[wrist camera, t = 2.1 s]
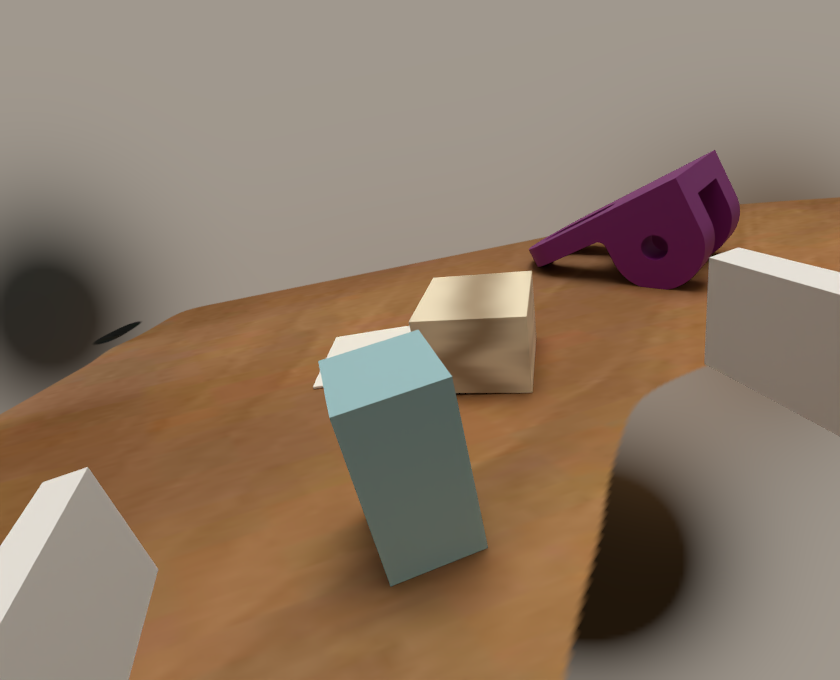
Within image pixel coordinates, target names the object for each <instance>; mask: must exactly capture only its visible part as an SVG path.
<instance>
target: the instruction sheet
mask: <svg viewBox="0 0 840 680" xmlns="http://www.w3.org/2000/svg"><path fill="white" fill-rule="evenodd" d="M409 332H411V331H410V326H404V327H398V328H392V329H385V330H379V331H373V332H367V333H360V334H354V335H348V336H341V337H336V339H335V341H334V343H333V346H332V348H331V350H330V352H329V354H328V356H327V358H330V357H333V356H336V355H339V354H343V353H346V352H349V351H352V350H355V349H358V348H362V347H365V346H368V345H371V344H374V343H377V342H380V341H384V340H387V339H390V338H393V337H396V336H399V335H403V334H406V333H409ZM327 358H326V359H327ZM317 388H324V387H323V382H322V377H321V372H320V373H319V375H318V377H317V379H316V381H315V384H314V386H313V389H317Z"/></svg>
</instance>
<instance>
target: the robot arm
mask: <svg viewBox="0 0 840 680" xmlns="http://www.w3.org/2000/svg"><path fill="white" fill-rule="evenodd" d="M705 365H707V366H709V367H711V368H713V369H715V370H717V371H719V372H720V373H722V374H724V375H726V376H728V377H730V378H732V379H733V380H735V381H737V382H739V383H741V384H743V385H745V386H746V387H748V388H750V389H752V390H754V391H756V392H758V393H760V394H761V395H763V396H765V397H767V398H769V399H771V400H773V401H774V402H776V403H778V404H780V405H782V406H784V407H786V408H788V409H789V410H791V411H793V412H795V413H797V414H799V415H801V416H803V417H804V418H806V419H808V420H810V421H812V422H814V423H816V424H817V425H819V426H821V427H823V428H825V429H827V430H829V431H831V432H832V433H834V434H836V435H838V436H840V272H836V271H832V270H828V269H824V268H820V267H816V266H812V265H807V264H803V263H799V262H795V261H791V260H787V259H783V258H779V257H775V256H771V255H767V254H763V253H759V252H754V251H750V250H746V249H742V248H736V249H733V250H730V251H727V252H724V253H721V254H718V255H715V256H712V257H709V273H708V296H707V319H706V342H705ZM157 572H158V568H157V567H156V565H155V564H154V562H153V561H152V560H151V558H150V557H149V555H148V554H147V552H146V551H145V549H144V548H143V546H142V545H141V544H140V542H139V541H138V539H137V538H136V536H135V535H134V533H133V532H132V530H131V529H130V528H129V526H128V525H127V523H126V522H125V520H124V519H123V517H122V516H121V514H120V513H119V512H118V510H117V509H116V507H115V506H114V504H113V503H112V501H111V500H110V499H109V497H108V496H107V494H106V493H105V491H104V490H103V488H102V487H101V485H100V484H99V483H98V481H97V480H96V478H95V477H94V475H93V474H92V472H91V471H90V469H89V468H88V467H87V468H84V469H81V470H78V471H75V472H72V473H69V474H66V475H63V476H60V477H57V478H54V479H51V480H48V481H45V482H43V483H42V484H41V486H40V487H39V489H38V490H37V492H36V493H35V495H34V496H33V498H32V499H31V501H30V502H29V504H28V505H27V507H26V508H25V510H24V511H23V513H22V514H21V516H20V517H19V519H18V520H17V522H16V523H15V525H14V526H13V528H12V529H11V531H10V532H9V534H8V535H7V537H6V538H5V540H4V541H3V543H2V544H1V546H0V680H129V676H130V673H131V669H132V665H133V661H134V658H135V654H136V650H137V646H138V643H139V639H140V635H141V631H142V628H143V624H144V620H145V617H146V613H147V609H148V605H149V602H150V598H151V594H152V590H153V587H154V583H155V579H156V575H157Z"/></svg>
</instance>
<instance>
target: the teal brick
mask: <svg viewBox="0 0 840 680" xmlns="http://www.w3.org/2000/svg"><path fill="white" fill-rule="evenodd" d="M318 362H319V367H320V372H321V377H322V382H323V387H324V393H325V398H326V403H327V408H328V413H329V418H330V421H331V423H332V426H333V429H334V432H335V434H336V437H337V440H338V443H339V445H340V448H341V451H342V454H343V457H344V459H345V462H346V465H347V468H348V470H349V473H350V476H351V479H352V481H353V484H354V487H355V490H356V492H357V495H358V498H359V501H360V503H361V506H362V509H363V512H364V514H365V517H366V520H367V523H368V526H369V528H370V531H371V534H372V537H373V539H374V542H375V545H376V548H377V550H378V553H379V556H380V559H381V561H382V564H383V567H384V570H385V572H386V575H387V578H388V581H389V583H390V586H393V585H396V584H398V583H401V582H403V581H406V580H408V579H411V578H413V577H416V576H418V575H421V574H423V573H426V572H428V571H431V570H433V569H436V568H438V567H441V566H443V565H446V564H448V563H451V562H453V561H456V560H458V559H461V558H463V557H466V556H468V555H471V554H473V553H476V552H478V551H481V550H483V549H486V548H488V546H487V541H486V536H485V531H484V526H483V522H482V517H481V512H480V507H479V503H478V498H477V493H476V488H475V483H474V479H473V474H472V469H471V464H470V460H469V455H468V450H467V445H466V440H465V436H464V431H463V426H462V421H461V417H460V412H459V407H458V402H457V398H456V393H455V388H454V383H453V378H452V376H451V374H450V373H449V372H448V370H447V369H446V367H445V366H444V365H443V363H442V362H441V360H440V359H439V358H438V356H437V355H436V353H435V352H434V351H433V349H432V348H431V346H430V345H429V344H428V342H427V341H426V339H425V338H424V337H423V335H422V334H421V332H420V331H419V330H415V331H412V332H409V333H406V334H403V335H399V336H396V337H393V338H390V339H387V340H384V341H380V342H377V343H374V344H371V345H368V346H365V347H362V348H358V349H355V350H352V351H349V352H346V353H343V354H339V355H336V356H333V357H330V358H327V359H324V360H320V361H318Z"/></svg>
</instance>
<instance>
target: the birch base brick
mask: <svg viewBox="0 0 840 680" xmlns="http://www.w3.org/2000/svg"><path fill="white" fill-rule="evenodd" d="M409 326H410V331H411V332H412V331H415V330H419V331H420V332H421V334H422V335H423V337H424V338H425V339H426V341H427V342H428V344H429V345H430V346H431V348H432V349H433V351H434V352H435V353H436V355H437V356H438V358H439V359H440V360H441V362H442V363H443V365H444V366H445V367H446V369H447V370H448V372H449V373H450V374H451V376H452V378H453V383H454V388H455V393H532V391H533V377H534V363H535V349H536V325H535V311H534V296H533V281H532V271H522V272H509V273H495V274H481V275H467V276H454V277H440V278H433V280H432V281H431V283H430V285H429V287H428V289H427V290H426V292H425V294H424V296H423V297H422V299H421V301H420V303H419V305H418V306H417V308H416V310H415V312H414V313H413V315H412V317H411V319H410V321H409Z"/></svg>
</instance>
